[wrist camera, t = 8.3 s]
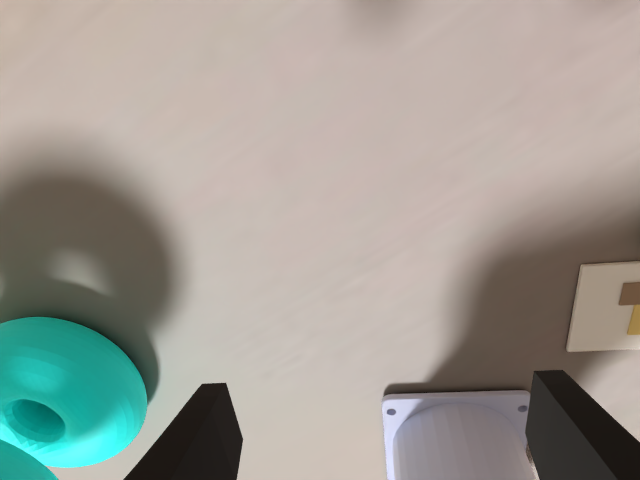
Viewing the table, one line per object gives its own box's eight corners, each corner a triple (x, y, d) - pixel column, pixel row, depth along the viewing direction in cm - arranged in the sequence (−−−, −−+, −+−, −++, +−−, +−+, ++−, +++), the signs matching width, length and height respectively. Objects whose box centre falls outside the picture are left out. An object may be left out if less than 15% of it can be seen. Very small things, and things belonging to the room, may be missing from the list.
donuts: (-89, 458, 13) (100, 614, 17) (88, 283, 22) (186, 413, 26) (-278, 511, 16) (-74, 638, 20) (-50, 334, 25) (59, 446, 29)
